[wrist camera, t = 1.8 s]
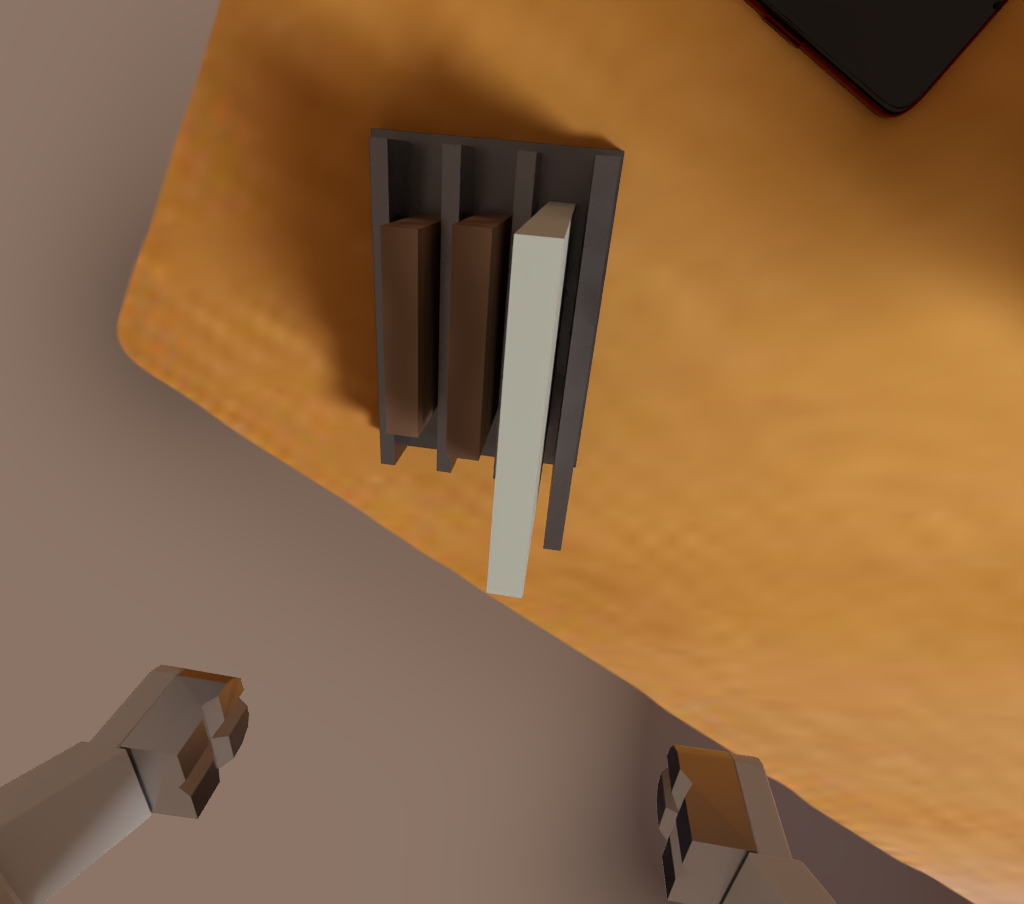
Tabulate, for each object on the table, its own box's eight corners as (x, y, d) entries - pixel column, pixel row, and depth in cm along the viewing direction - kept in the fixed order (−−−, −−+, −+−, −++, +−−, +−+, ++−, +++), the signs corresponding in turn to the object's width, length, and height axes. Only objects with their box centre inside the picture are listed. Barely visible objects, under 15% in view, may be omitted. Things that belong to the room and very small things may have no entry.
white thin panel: (575, 203, 33) (564, 238, 17) (548, 427, 40) (522, 597, 24) (549, 201, 33) (514, 233, 17) (526, 424, 40) (486, 592, 24)
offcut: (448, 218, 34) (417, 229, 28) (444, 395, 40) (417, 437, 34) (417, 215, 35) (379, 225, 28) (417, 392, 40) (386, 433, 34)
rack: (622, 151, 33) (640, 144, 22) (576, 458, 43) (571, 559, 32) (379, 129, 34) (279, 112, 23) (388, 433, 44) (321, 523, 33)
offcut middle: (512, 215, 34) (492, 228, 27) (497, 408, 40) (478, 460, 33) (480, 212, 34) (451, 224, 27) (470, 405, 40) (445, 456, 33)
